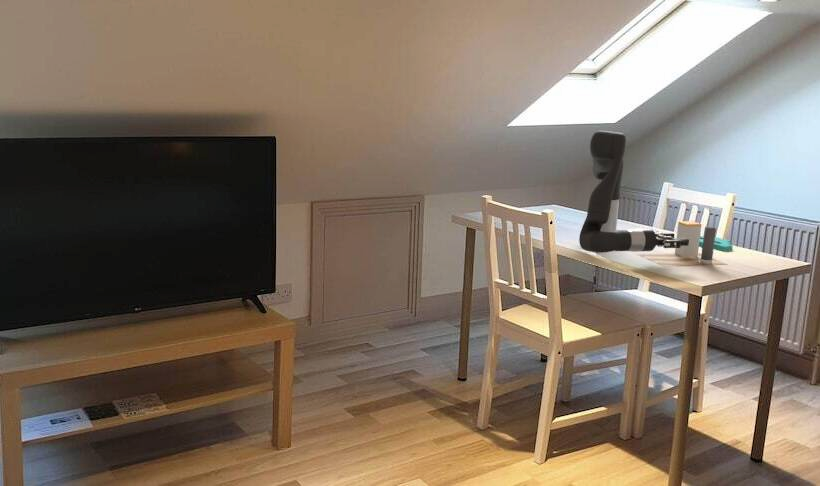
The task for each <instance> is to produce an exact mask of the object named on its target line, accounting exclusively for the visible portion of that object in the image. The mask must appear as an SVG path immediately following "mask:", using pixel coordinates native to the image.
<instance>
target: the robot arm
mask: <svg viewBox="0 0 820 486" xmlns="http://www.w3.org/2000/svg"><path fill="white" fill-rule="evenodd" d="M590 140H591V141H590V143H589V151H590V155H591V157H592V162H593V164H592V172H593V176H594V177H595V178H596V179H597V180H601V181H600V182H599V184H597V186H596V187H595V188H594V189H593V191H592V192H591V195H590V197H589V200H588V207H587V213H586V218H585V220H584V221H583V224H582V228H581V229H580V233H579V239H578V242H579V245H580V248H581V249H582V250H584V251H586V252H592V253H598V254H599V253H609V252H632V253H633V252H652V251H653V250H655V248H656V247H659V248H662V247H663V248H664V249H675V248H680V247H681V246H688V245H689V239H675V238H676V237H675V233H674V232H670V233H669V232H662V231H661V232H660V231H654V230H653V229H651V228H630V229H617V224H618V216H619V215H618V214H619V203H620V193H621V185H622V177H623V171H624V157H625V156H624V155H625V151H626V145H627V137H626V135H625V134H624V133H622V132H616V131H609V130H596V131H595V132H594V133H593V134H592V136H591V139H590ZM675 242H676V243H675Z"/></svg>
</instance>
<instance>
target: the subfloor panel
mask: <svg viewBox="0 0 820 486" xmlns="http://www.w3.org/2000/svg"><path fill="white" fill-rule="evenodd" d="M701 254H702V252H701V253H700V252H698V257H681V256H679V255H676V254H675V252H674V253H644V254H643V253H640V254H639V253H638V254H636V255H637V256H640V257H642V258H644V259H646V260H648V261H651V262H653V263H655V264H656V265H659V266H662V267H664V268H665V267H666V268H667V267H670V268H671V267H690V266H691V267H694V266H695V267H699V266H700V267H701V266H707V265H706V264H701V263H700V260H701ZM725 265H726V266H728V265H729V264H728V263H725V262H723V261H720V260H718V259H715V258H713V257H712V264H711V265H710V266H725Z"/></svg>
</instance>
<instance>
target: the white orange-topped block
mask: <svg viewBox="0 0 820 486" xmlns="http://www.w3.org/2000/svg"><path fill="white" fill-rule="evenodd" d="M677 222H678V223H677V232H676V237H675V238H676V239H689V245H688V246H681V247H680V248H674V253H675V254H676V255H679V256H681V257H698V253H699V247H700V246H699V241H700V236H701V232H702V223H701V222H696V221H693V220H690V221H689V220H686V221H682V220H681V221H677Z"/></svg>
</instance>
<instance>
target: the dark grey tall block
mask: <svg viewBox="0 0 820 486" xmlns="http://www.w3.org/2000/svg"><path fill="white" fill-rule="evenodd" d="M716 232H717V227H713V226H704V233H703V237H704V238H703V246H702V247H701V260H700V263H701V264H706V265H705V266H712V265H711V264H712V258H713V255H714V241H715V237H716Z"/></svg>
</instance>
